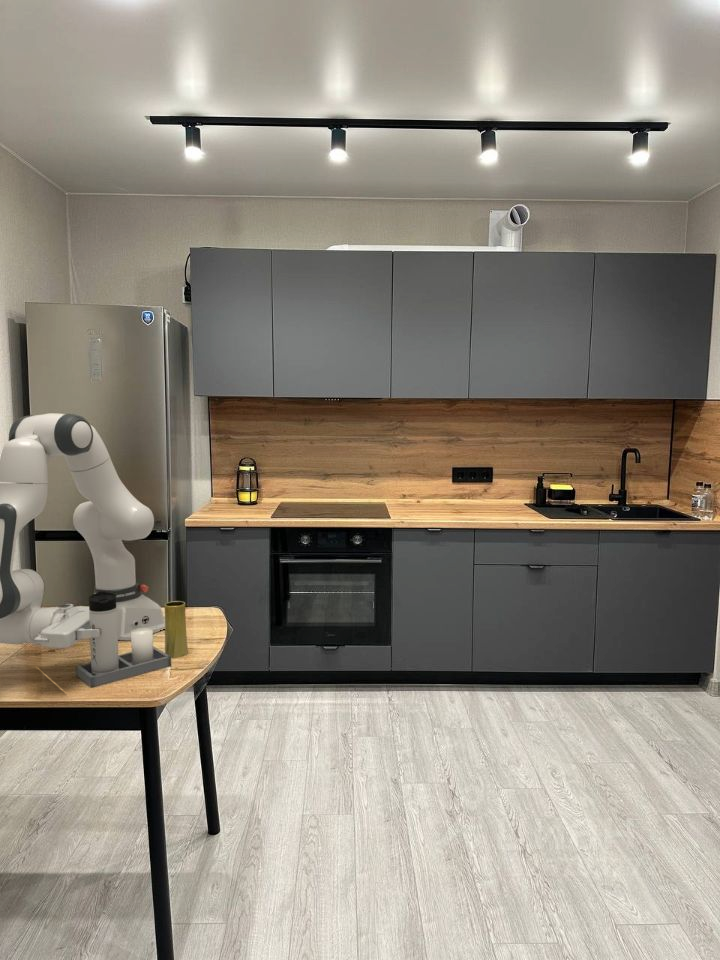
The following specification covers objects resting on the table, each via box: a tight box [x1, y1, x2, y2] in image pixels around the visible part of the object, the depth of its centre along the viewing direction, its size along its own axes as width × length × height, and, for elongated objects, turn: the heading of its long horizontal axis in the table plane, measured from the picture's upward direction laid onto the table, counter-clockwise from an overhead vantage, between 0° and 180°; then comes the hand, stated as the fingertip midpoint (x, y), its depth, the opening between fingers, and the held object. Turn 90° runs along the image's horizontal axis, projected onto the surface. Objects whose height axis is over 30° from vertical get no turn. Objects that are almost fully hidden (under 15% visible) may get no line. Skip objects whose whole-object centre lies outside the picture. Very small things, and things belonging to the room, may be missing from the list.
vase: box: [164, 600, 189, 659], centre depth 176 cm, size 6×6×14 cm
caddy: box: [75, 645, 172, 689], centre depth 165 cm, size 20×10×3 cm, turn 132°
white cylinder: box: [130, 628, 154, 665], centre depth 168 cm, size 5×5×9 cm
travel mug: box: [88, 591, 119, 676], centre depth 161 cm, size 6×7×20 cm
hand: (107, 627), depth 161 cm, fingers closed on travel mug, 6 cm apart
